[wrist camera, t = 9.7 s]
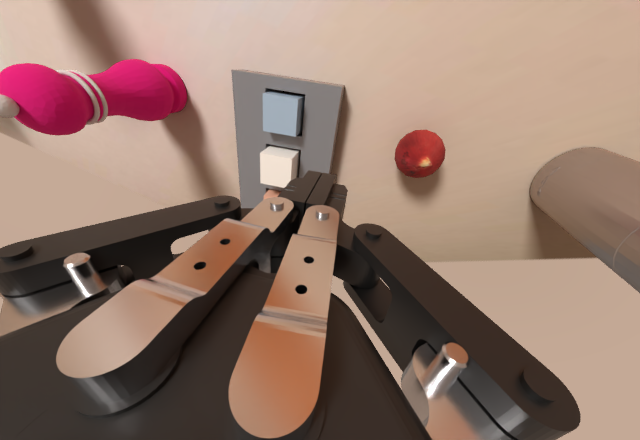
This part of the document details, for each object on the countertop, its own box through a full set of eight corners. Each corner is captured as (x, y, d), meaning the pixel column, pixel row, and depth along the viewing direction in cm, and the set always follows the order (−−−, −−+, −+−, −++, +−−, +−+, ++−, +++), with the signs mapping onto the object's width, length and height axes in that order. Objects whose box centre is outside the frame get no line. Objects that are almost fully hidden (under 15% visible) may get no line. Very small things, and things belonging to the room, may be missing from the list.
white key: (299, 150, 35) (292, 158, 31) (297, 178, 37) (290, 189, 34) (270, 144, 35) (259, 152, 32) (270, 173, 38) (260, 183, 34)
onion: (412, 174, 35) (421, 198, 29) (384, 149, 34) (386, 168, 28) (446, 143, 32) (465, 163, 26) (417, 114, 31) (428, 127, 25)
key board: (344, 85, 31) (342, 87, 29) (322, 224, 43) (319, 233, 41) (242, 69, 32) (231, 69, 30) (249, 208, 44) (241, 216, 42)
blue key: (305, 95, 32) (298, 99, 28) (303, 130, 34) (295, 136, 31) (274, 90, 32) (262, 93, 29) (273, 124, 35) (263, 130, 31)
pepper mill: (198, 89, 35) (39, 109, 18) (178, 125, 38) (29, 169, 22) (155, 46, 33) (-69, 25, 16) (138, 88, 36) (-59, 106, 20)
